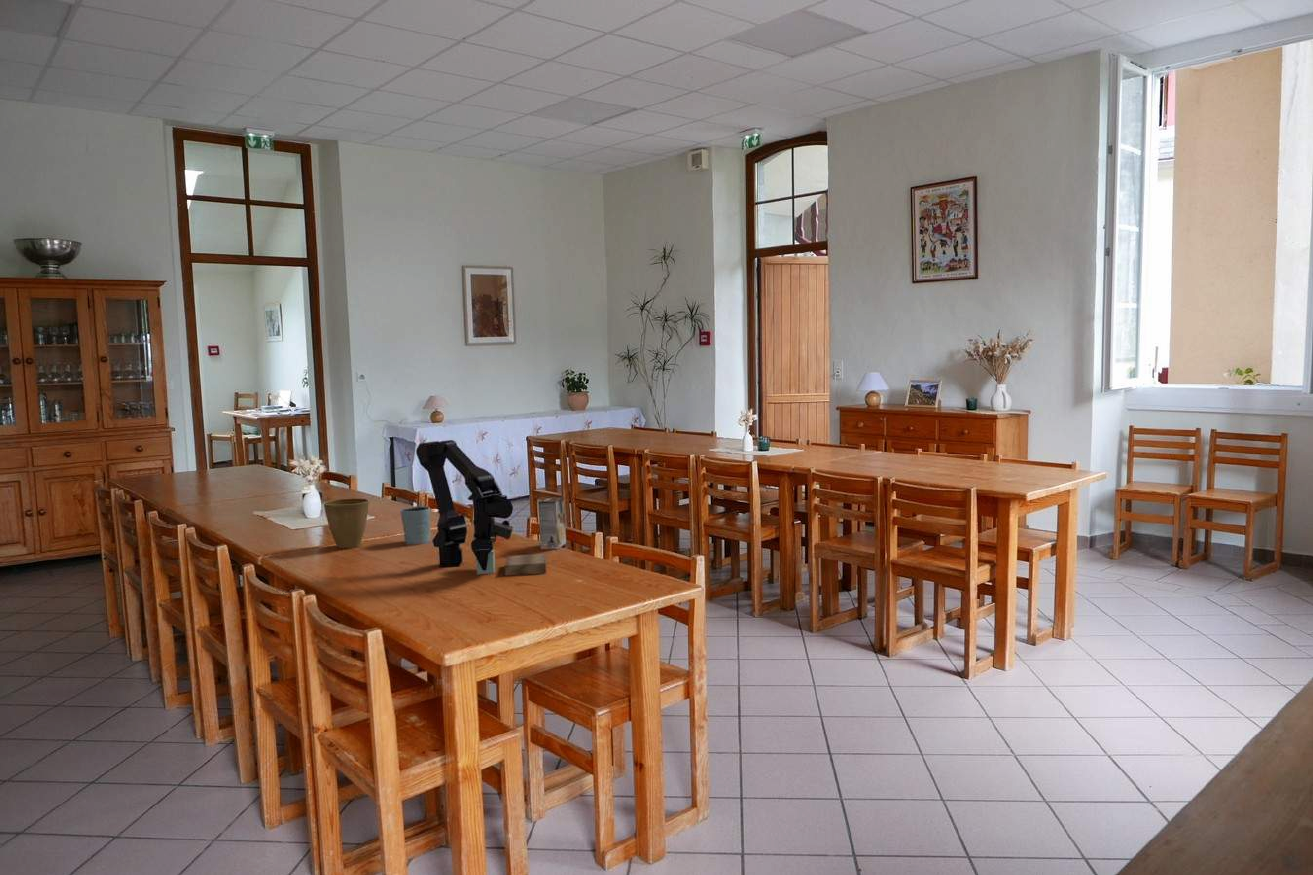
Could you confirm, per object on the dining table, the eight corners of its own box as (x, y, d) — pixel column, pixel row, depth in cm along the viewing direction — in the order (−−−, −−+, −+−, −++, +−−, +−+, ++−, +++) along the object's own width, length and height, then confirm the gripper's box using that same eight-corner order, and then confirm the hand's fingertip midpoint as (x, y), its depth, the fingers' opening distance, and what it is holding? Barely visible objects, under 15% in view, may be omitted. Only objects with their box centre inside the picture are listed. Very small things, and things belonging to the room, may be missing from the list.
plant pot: (353, 552, 296) (350, 505, 295) (317, 550, 301) (314, 504, 300) (380, 542, 310) (377, 498, 309) (345, 540, 315) (342, 497, 314)
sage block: (477, 574, 261) (475, 554, 260) (478, 570, 266) (477, 550, 265) (494, 573, 261) (493, 553, 261) (495, 569, 266) (494, 549, 266)
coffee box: (548, 543, 301) (546, 496, 299) (566, 543, 299) (564, 497, 298) (540, 549, 292) (537, 501, 290) (558, 549, 290) (556, 501, 289)
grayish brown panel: (505, 575, 258) (504, 565, 258) (507, 565, 270) (507, 556, 270) (546, 572, 260) (545, 563, 259) (546, 563, 272) (546, 553, 271)
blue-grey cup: (427, 544, 304) (425, 510, 303) (398, 545, 304) (396, 511, 303) (435, 538, 314) (433, 505, 313) (407, 539, 314) (405, 506, 313)
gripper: (508, 519, 254) (511, 572, 255) (512, 508, 272) (514, 557, 274) (469, 521, 252) (472, 574, 254) (475, 510, 271) (478, 559, 272)
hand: (485, 566), depth 264 cm, fingers open, 9 cm apart
